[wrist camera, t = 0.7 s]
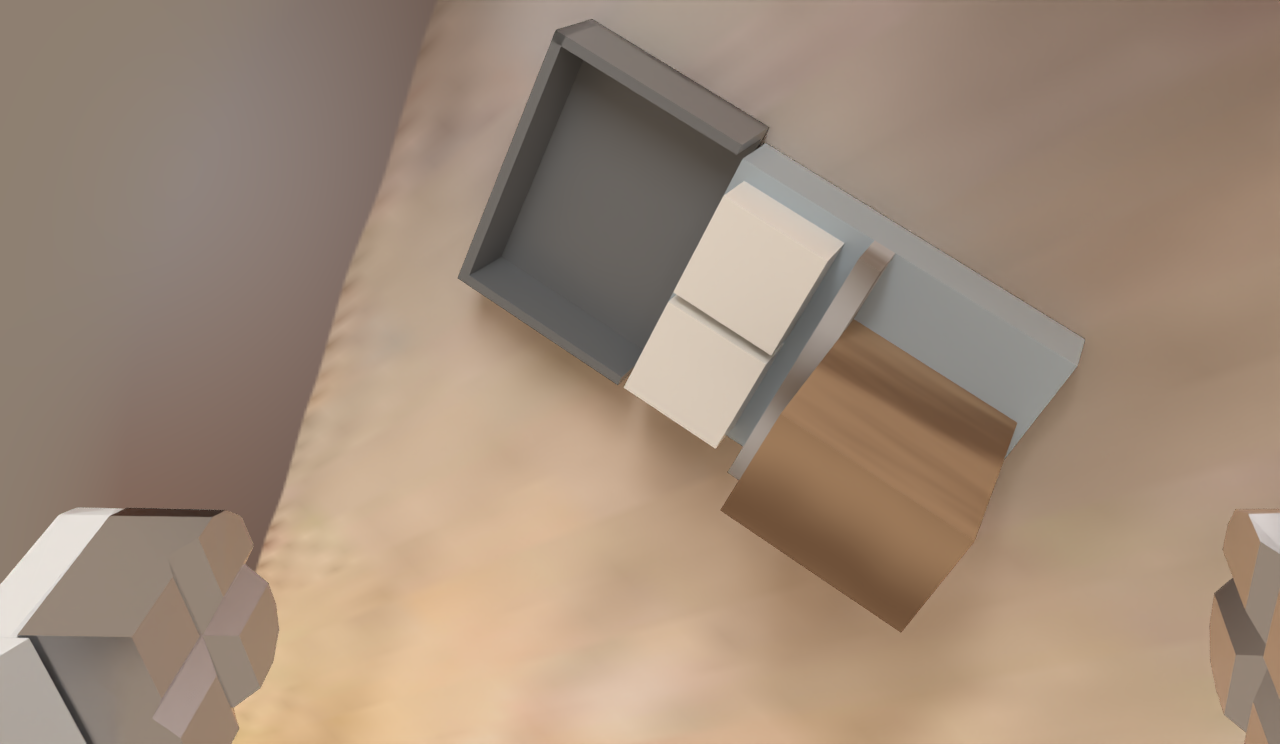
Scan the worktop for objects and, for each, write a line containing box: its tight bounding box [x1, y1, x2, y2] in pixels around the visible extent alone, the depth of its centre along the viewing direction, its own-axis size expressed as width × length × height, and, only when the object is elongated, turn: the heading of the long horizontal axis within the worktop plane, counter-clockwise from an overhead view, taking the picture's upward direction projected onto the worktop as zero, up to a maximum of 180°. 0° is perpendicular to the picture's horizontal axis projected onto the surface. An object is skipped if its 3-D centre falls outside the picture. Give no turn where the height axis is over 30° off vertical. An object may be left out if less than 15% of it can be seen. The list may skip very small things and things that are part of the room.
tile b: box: [624, 295, 784, 449], centre depth 54 cm, size 5×5×2 cm
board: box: [634, 143, 1085, 458], centre depth 54 cm, size 12×16×3 cm
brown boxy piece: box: [721, 240, 1017, 632], centre depth 48 cm, size 12×9×10 cm
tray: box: [458, 19, 769, 385], centre depth 56 cm, size 13×10×4 cm
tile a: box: [674, 181, 844, 355], centre depth 51 cm, size 5×5×2 cm
